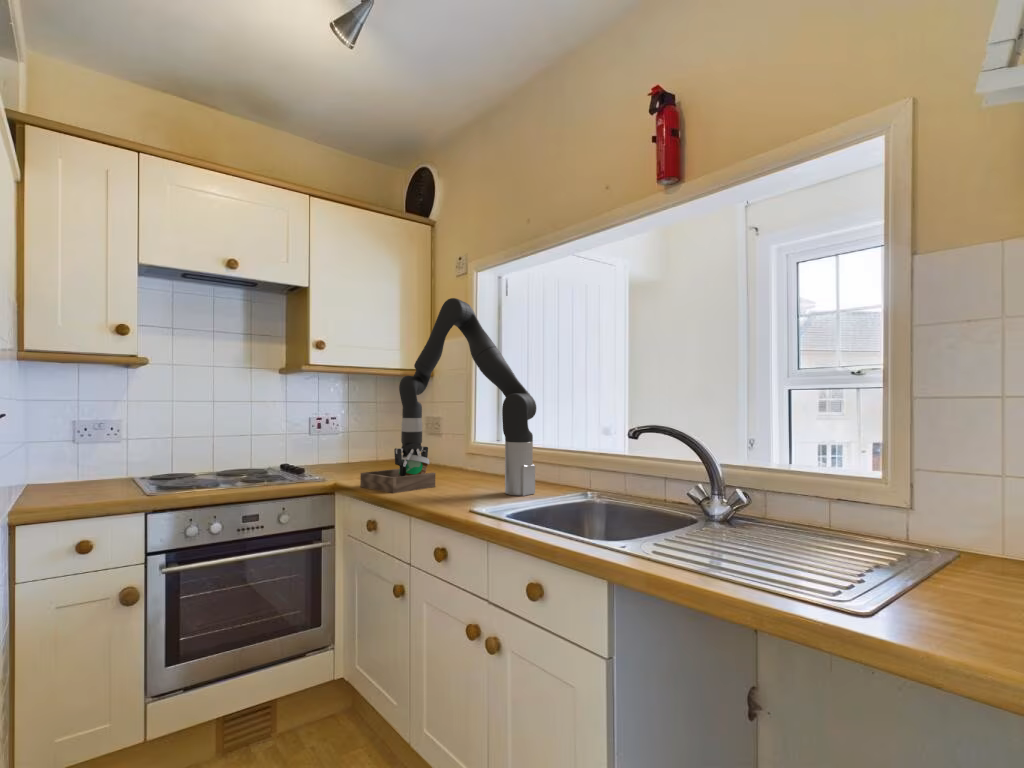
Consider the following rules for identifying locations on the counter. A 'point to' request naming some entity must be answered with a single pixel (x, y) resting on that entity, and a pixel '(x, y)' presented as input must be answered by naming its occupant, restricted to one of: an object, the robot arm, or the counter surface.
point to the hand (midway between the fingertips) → (411, 475)
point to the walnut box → (396, 481)
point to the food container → (416, 465)
